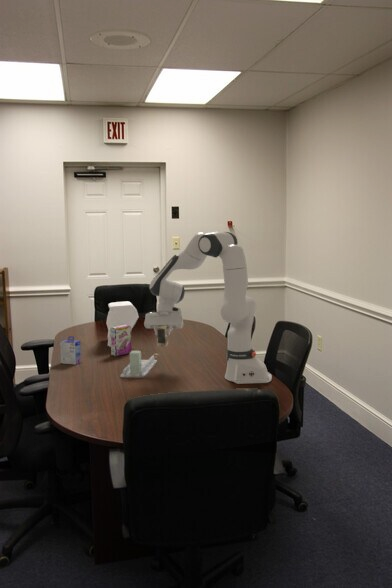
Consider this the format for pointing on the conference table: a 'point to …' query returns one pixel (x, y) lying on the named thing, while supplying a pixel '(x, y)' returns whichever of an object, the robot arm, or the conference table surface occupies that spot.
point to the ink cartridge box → (70, 351)
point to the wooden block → (162, 336)
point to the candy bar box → (120, 340)
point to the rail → (136, 375)
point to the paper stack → (120, 316)
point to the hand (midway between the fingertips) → (162, 334)
